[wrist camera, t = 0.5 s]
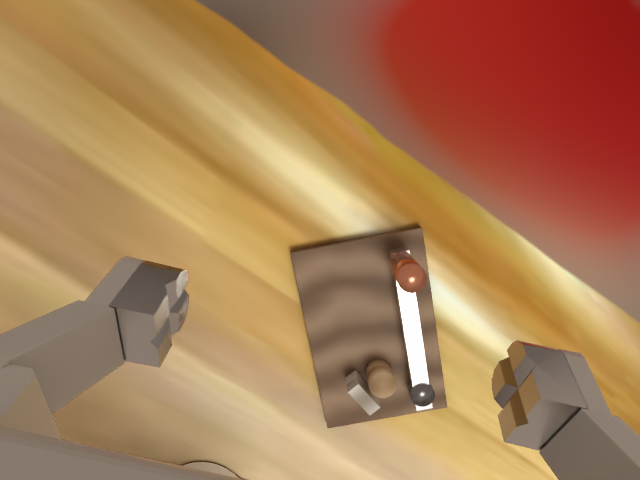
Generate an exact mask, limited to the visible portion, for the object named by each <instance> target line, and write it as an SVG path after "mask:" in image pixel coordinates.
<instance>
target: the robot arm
mask: <svg viewBox="0 0 640 480" xmlns="http://www.w3.org/2000/svg"><path fill="white" fill-rule="evenodd" d="M187 283H188V274H187V271H186V270H183V269H179V268H175V267H171V266H167V265H163V264H158V263H154V262H150V261H144V260H140V259H136V258H132V257H127V256H125V257H123V258H121V259H120V260H119V261H118V262H117V263H116V265H115V266H114V267H113V268H112V269H111V270H110V272H109V273H108V274H107V275H106V276H105V278H104V279H103V280H102V281H101V282H100V284H99V285H98V286H97V287H96V288H95V290H94V291H93V292H92V293H91V294H90V296H89V297H88V298H87V299H86V300H85V301H79V300H78V301H76V302H73V303H71V304H69V305H67V306H64V307H62V308H60V309H57V310H55V311H53V312H51V313H48V314H46V315H44V316H42V317H39V318H37V319H35V320H32V321H30V322H28V323H26V324H23V325H21V326H19V327H16V328H14V329H12V330H10V331H7V332H5V333H3V334H0V480H245V479H240V478H239V477H237V476H236V475H235V474H234V473H232V472H231V471H230V470H228V469H226V468H224V467H222V466H220V465H217V464H213V463H208V462H194V463H189V464H185V465H183V466H180V465H176V464H171V463H166V462H162V461H157V460H153V459H148V458H143V457H139V456H134V455H130V454H125V453H121V452H116V451H111V450H107V449H102V448H98V447H93V446H89V445H84V444H80V443H75V442H70V441H66V440H61V437H60V432H59V430H58V427H57V425H56V423H55V420H54V418H53V416H52V414H53V413H54V412H55V411H57V410H58V409H60V408H61V407H63V406H64V405H65V404H67V403H68V402H70V401H71V400H73V399H74V398H75V397H77V396H78V395H80V394H81V393H82V392H84V391H85V390H87V389H88V388H90V387H91V386H92V385H94V384H95V383H97V382H98V381H100V380H101V379H102V378H104V377H105V376H107V375H108V374H109V373H111V372H112V371H114V370H115V369H117V368H118V367H119V366H121V365H122V364H124V361H128V362H133V363H139V364H144V365H149V366H155V367H160V366H161V364H162V363H163V361H164V359H165V357H166V355H167V353H168V351H169V350H170V348H171V346H172V341H171V336H172V335H173V334H175V333H177V332H178V331H180V329H181V327H182V325H183V323H184V320H185V317H186V314H187V311H188V304H189V295H188V293H187V292H186V291H185V290H184V288H185V286H186V285H187ZM507 351H508V355H509V357H508V358H506V359H504V360H501V361H499V363H498V364H497V366H496V368H495V369H494V373H493V378H492V391H493V396H494V399H495V400H496V402H497V403H498V404H499V405H500V406H501V408H502V410H501V411H500V413H499V415H498V418H499V422H500V427H501V431H502V435H503V439H504V442H506V443H511V444H515V445H519V446H523V447H527V448H531V449H535V450H539V451H540V452H539V453H540V454H541V456H542V457H543V459H544V460H545V461H546V463H547V464H548V466H549V467H550V468H551V470H552V471H553V473H554V474H555V475H556V477H557V478H558V480H640V436H639V435H637V434H636V433H635V432H634V431H633V430H632V429H631V428H630V427H629V426H628V425H627V424H626V423H625V422H624V421H623V420H622V419H620V418H619V417H618V416H614V415H612V414H611V412H610V410H609V408H608V406H607V404H606V402H605V400H604V397H603V395H602V393H601V391H600V389H599V387H598V385H597V383H596V381H595V378H594V376H593V374H592V372H591V370H590V368H589V366H588V364H587V361H586V359H585V358H584V357H583V356H582V355H581V354H580V353H576V352H571V351H566V350H562V349H556V348H551V347H547V346H542V345H537V344H532V343H527V342H522V341H515V342H513V343H512V344H511V345H510V347H509V348H508V349H507Z"/></svg>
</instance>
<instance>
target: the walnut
mask: <svg viewBox="0 0 640 480" xmlns="http://www.w3.org/2000/svg"><path fill="white" fill-rule="evenodd" d="M366 376H367V381H368V385H369V389H370V392H371V393H372V394H373V395H374V396H376V397H378V398H387V397H389V396H391V395H392V394H393V393H394V392H395V390H396V388H397V382H396V379H395V376H394V374H393V371H392V368H391V365H390V364H389V363H388V362H387V361H385V360H382V359H376V360H373V361H372V362H370V363H369V364H368V366H367V368H366Z"/></svg>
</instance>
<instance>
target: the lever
mask: <svg viewBox="0 0 640 480" xmlns="http://www.w3.org/2000/svg"><path fill="white" fill-rule="evenodd" d="M389 251H390V258H391V262H390V271H391V273H392V275H393V276H394V283H395V289H396V295H397V302H398V308H399V314H400V321H401V327H402V333H403V339H404V346H405V352H406V358H407V365H408V371H409V377H410V380H409V381H408V383H407V390H408V393H409V395H410V398H411V400H412V402H413V403H414V405H415V408H416V410H417V411H419V410H425V409H430V408H433V407H432V402H433V401H434V399H435V391H434V389H433V387H432V385H431V383H430V381H429V380H428V373H427V366H426V360H425V353H424V346H423V339H422V333H421V326H420V319H419V312H418V306H417V299H416V292H419V291H421V290H422V289H423V288H424V287H425V285H426V283H427V274H426V272H425V270H424V269H423V268H422V267H421V266H420V265H419V264H418V262H417V261H416V260H415V259H414V258H413V257H412V256H411V255H410V252H409V249H408V248H407V247H403V248H398V249H393V250H389Z"/></svg>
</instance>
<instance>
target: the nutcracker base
mask: <svg viewBox="0 0 640 480" xmlns="http://www.w3.org/2000/svg"><path fill="white" fill-rule="evenodd" d="M403 247H407V248H408V249H409V252H410V255H411V256H412V257H413V258H414V259H415V260H416V261H417V262H418V264H419V265H420V266H421V267H422V268H423V269H424V270H425V272H426V274H427V283H426V285H425V287H424V288H423V289H422V290H421V291H419V292H416V299H417V306H418V312H419V319H420V326H421V333H422V339H423V346H424V353H425V360H426V366H427V373H428V380H429V381H430V383H431V385H432V387H433V389H434V391H435V399H434V401H433V402H432V407H433V408H430V409H425V410H419V411H417V410H416V408H415V405H414V403H413V402H412V400H411V398H410V395H409V393H408V390H407V383H408V381H409V380H410V377H409V371H408V365H407V358H406V352H405V346H404V339H403V333H402V327H401V321H400V314H399V308H398V302H397V295H396V289H395V283H394V276H393V275H392V273H391V271H390V262H391V258H390V251H389V250H393V249H398V248H403ZM291 257H292V262H293V266H294V271H295V276H296V280H297V285H298V290H299V295H300V299H301V304H302V309H303V314H304V318H305V323H306V328H307V333H308V337H309V342H310V347H311V351H312V356H313V361H314V366H315V370H316V375H317V380H318V385H319V389H320V394H321V399H322V403H323V408H324V413H325V418H326V422H327V427H328V428H332V427H338V426H343V425H349V424H355V423H361V422H366V421H372V420H378V419H383V418H389V417H395V416H401V415H406V414H412V413H418V412H424V411H429V410H435V409H441V408H446V407H447V402H446V395H445V388H444V381H443V373H442V366H441V359H440V352H439V345H438V338H437V330H436V323H435V316H434V309H433V302H432V295H431V288H430V280H429V273H428V266H427V259H426V252H425V245H424V237H423V230H422V228H421V227H420V226H418V227H413V228H408V229H402V230H397V231H392V232H386V233H381V234H376V235H370V236H365V237H360V238H354V239H349V240H344V241H339V242H333V243H328V244H323V245H317V246H312V247H307V248H301V249H296V250H291ZM376 359H382V360H385V361H387V362H388V363H389V364H390V365H391V368H392V371H393V374H394V376H395V379H396V382H397V388H396V390H395V392H394V393H393V394H392V395H391V396H389V397H387V398H378V397H376V396H374V395H373V394H372V393H371V392H370V389H369V385H368V381H367V376H366V368H367V366H368V364H369V363H370V362H372V361H373V360H376Z"/></svg>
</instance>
